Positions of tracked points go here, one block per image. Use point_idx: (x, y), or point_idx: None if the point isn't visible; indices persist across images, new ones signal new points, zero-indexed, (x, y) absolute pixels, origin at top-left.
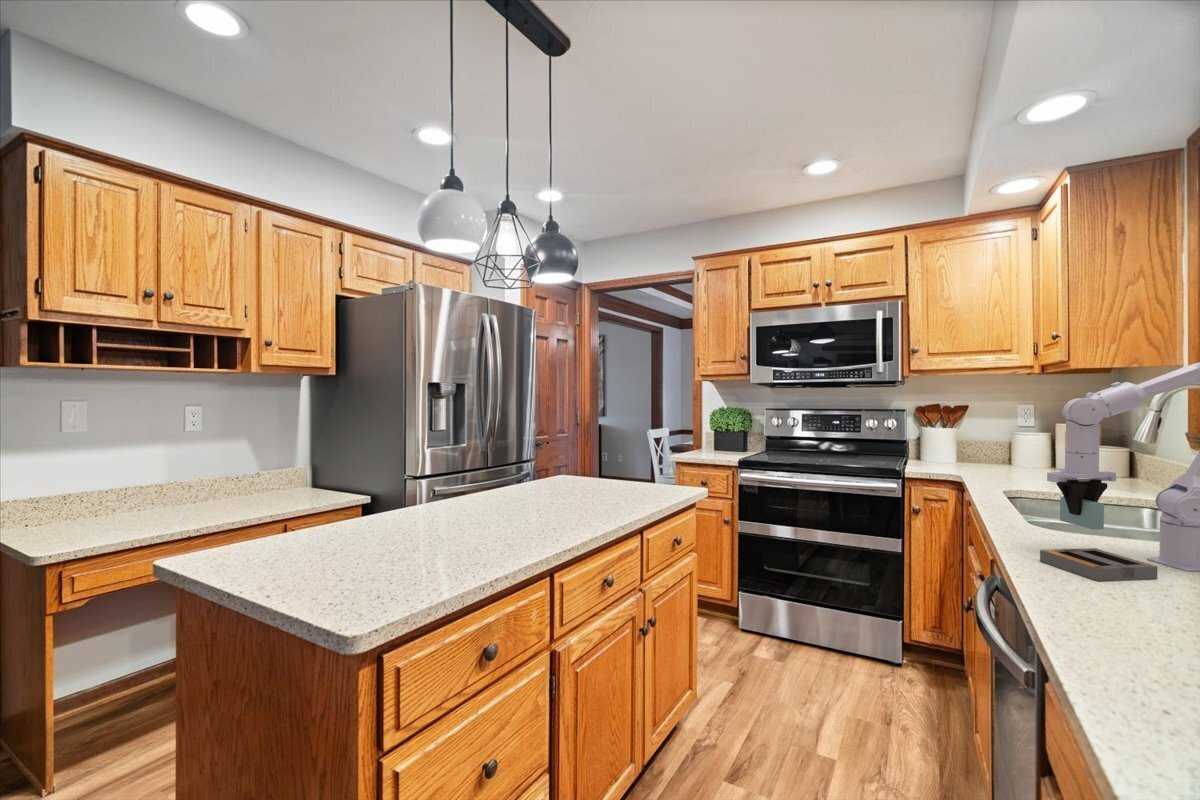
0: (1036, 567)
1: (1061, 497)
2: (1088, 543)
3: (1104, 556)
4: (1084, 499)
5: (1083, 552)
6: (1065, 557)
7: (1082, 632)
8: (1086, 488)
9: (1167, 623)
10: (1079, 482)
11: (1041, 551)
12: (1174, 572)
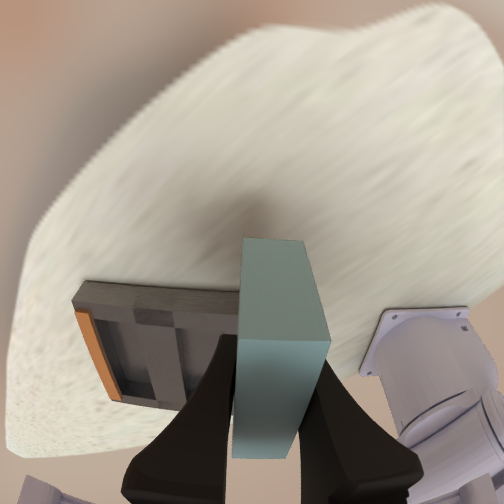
0: (59, 304)
1: (238, 342)
2: (435, 138)
3: None
4: (302, 412)
5: (170, 339)
6: (92, 355)
7: (29, 421)
8: (317, 476)
9: (106, 442)
10: (339, 490)
11: (73, 302)
12: (333, 370)
